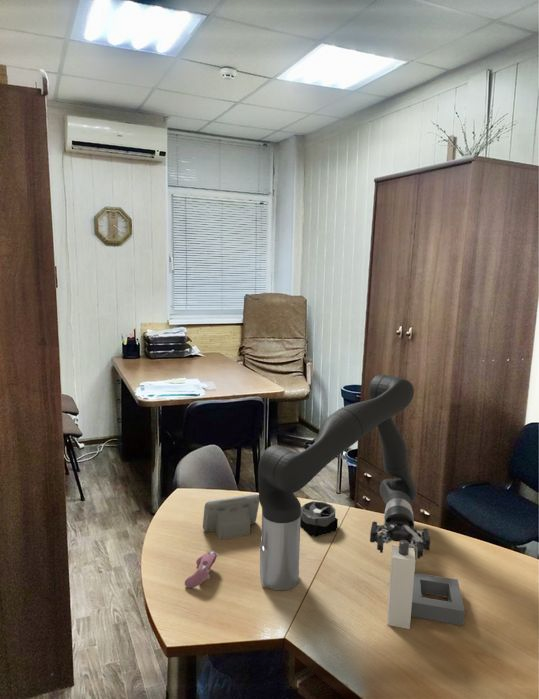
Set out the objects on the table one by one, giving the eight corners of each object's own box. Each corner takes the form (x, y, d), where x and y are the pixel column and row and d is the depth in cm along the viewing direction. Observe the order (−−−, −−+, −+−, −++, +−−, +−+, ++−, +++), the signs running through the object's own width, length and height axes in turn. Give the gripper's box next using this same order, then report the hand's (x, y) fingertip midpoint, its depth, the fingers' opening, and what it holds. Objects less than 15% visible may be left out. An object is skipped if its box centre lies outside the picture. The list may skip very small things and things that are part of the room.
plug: (409, 629, 105) (416, 550, 102) (387, 624, 106) (393, 546, 103) (408, 614, 109) (415, 538, 106) (387, 610, 110) (393, 535, 107)
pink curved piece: (198, 596, 116) (211, 574, 114) (181, 586, 116) (194, 564, 115) (211, 571, 125) (223, 550, 124) (196, 561, 126) (207, 540, 124)
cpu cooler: (323, 497, 150) (342, 513, 142) (322, 515, 151) (341, 531, 143) (293, 505, 146) (312, 521, 137) (293, 522, 147) (311, 540, 138)
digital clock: (257, 520, 147) (258, 487, 145) (261, 537, 138) (261, 502, 137) (202, 523, 145) (202, 490, 143) (202, 541, 136) (202, 505, 134)
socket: (463, 625, 106) (464, 611, 106) (410, 616, 109) (411, 602, 108) (456, 592, 117) (457, 579, 116) (408, 584, 119) (409, 571, 119)
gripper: (372, 501, 133) (370, 533, 117) (428, 508, 129) (433, 542, 114) (370, 527, 134) (368, 561, 118) (425, 534, 131) (430, 571, 115)
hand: (400, 552), depth 116 cm, fingers open, 8 cm apart
